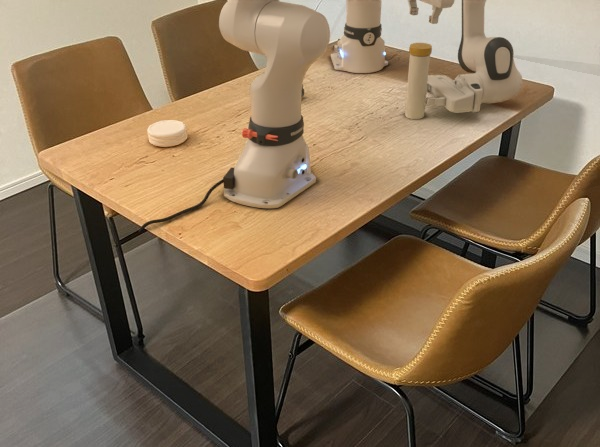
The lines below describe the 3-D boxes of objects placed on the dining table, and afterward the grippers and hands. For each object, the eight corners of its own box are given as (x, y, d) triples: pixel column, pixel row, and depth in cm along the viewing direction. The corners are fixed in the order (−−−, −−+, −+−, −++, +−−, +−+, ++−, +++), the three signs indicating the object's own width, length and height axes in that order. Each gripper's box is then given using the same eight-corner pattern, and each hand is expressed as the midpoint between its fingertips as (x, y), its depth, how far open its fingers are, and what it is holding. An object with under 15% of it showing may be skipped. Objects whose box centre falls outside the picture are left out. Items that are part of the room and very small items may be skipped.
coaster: (150, 132, 165) (149, 120, 163) (188, 130, 166) (187, 118, 164) (146, 148, 157) (144, 135, 155) (186, 146, 157) (185, 133, 155)
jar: (413, 110, 176) (419, 43, 166) (427, 115, 173) (434, 47, 162) (401, 115, 173) (406, 47, 163) (416, 120, 170) (422, 51, 159)
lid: (418, 48, 167) (419, 41, 166) (435, 52, 163) (436, 45, 162) (404, 52, 164) (405, 45, 162) (422, 57, 160) (422, 50, 159)
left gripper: (395, -45, 158) (392, 11, 166) (440, -31, 142) (434, 29, 150) (417, -47, 160) (412, 8, 168) (463, -34, 144) (456, 26, 152)
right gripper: (450, 67, 180) (405, 72, 177) (485, 91, 163) (436, 97, 160) (447, 88, 183) (403, 93, 180) (481, 114, 166) (434, 120, 163)
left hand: (423, 18), depth 159 cm, fingers open, 8 cm apart
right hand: (419, 95), depth 170 cm, fingers open, 8 cm apart
